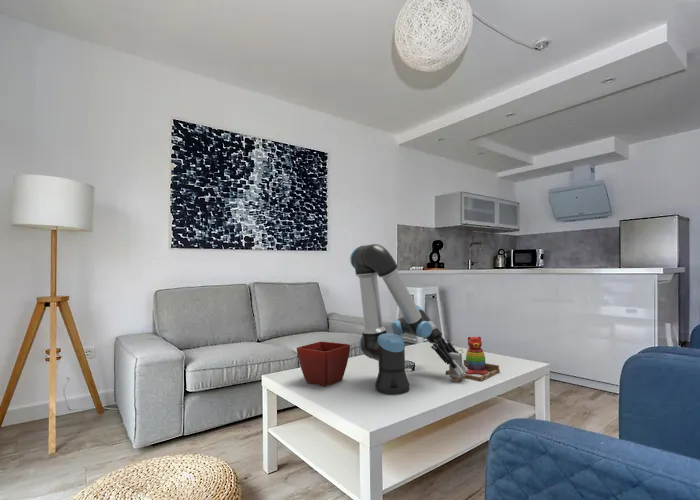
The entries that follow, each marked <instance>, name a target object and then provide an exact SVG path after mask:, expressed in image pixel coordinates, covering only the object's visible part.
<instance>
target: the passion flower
mask: <svg viewBox="0 0 700 500" xmlns="http://www.w3.org/2000/svg"><path fill="white" fill-rule="evenodd" d="M450 343H451V345H452V346H453V347H454V348H455V349H456V347H457V345H456V344H454V341H453V340H452V341H450ZM456 351H457V352H458V351H461V352H462V353H461V354H463V353H464V350H463V349H462V348H461V349H459V350H456ZM458 353H460V352H458Z"/></svg>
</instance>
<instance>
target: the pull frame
mask: <svg viewBox="0 0 700 500" xmlns="http://www.w3.org/2000/svg"><path fill="white" fill-rule="evenodd" d="M449 355H450V357H451V358H452V361H453V360H455V362H456V363H457V364H458V365H459V367H460V368H461V369H462V363H463V364H464V366H465V367H466V368H468V366H467V363H466V359H464V360H463V356H462V355H463V353H460V352H459V353H454V352H451V353H449ZM448 368H449V369H448V370H445V375H446V376H447V375H449V377H450V381H451V382H455V383H458V382H460V381H463V380H465V379H468V380H472V381H476V382H483V381H485V380H487V379H489V378H491V377H493V376H495V375H497V374H499V373H500V372H501V370H500V365H499V364H494V363H493V364H492V363H487V362H485V368H484V369H486V370H487V372H488V373H487V374H485V375H480V376H478V375H470V374H465V373H464V374H463V373H462V374H460V375H458V374H457V372H456V371H455V370H454V369H453V367H452V366H451V365H450V364H448Z"/></svg>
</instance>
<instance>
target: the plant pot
mask: <svg viewBox="0 0 700 500" xmlns="http://www.w3.org/2000/svg"><path fill="white" fill-rule="evenodd" d="M350 351H351V344H349V343H348V344H347V343H339V342H332V341H331V342H330V341H318V342H313V343H309V344H306V345H301V346H298V347H296V353H297V358H298V362H299V366H300V369H301V372H302V375H303V377H304V378H303V379H304V380H305V381H306V383H307V382H309V383H308V384H312V383H313V384H312V385H316V384H317V385H318V386H321V385H322V387H328V386H331V385H333V384H336V383H338V382H340V381H341V382H342V381H343V378H344V375H345V372H346V369H347V366H348V361H349V356H350Z"/></svg>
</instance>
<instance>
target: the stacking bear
mask: <svg viewBox="0 0 700 500" xmlns="http://www.w3.org/2000/svg"><path fill="white" fill-rule="evenodd" d="M467 345H468V349H467V350H466V352H465V354H466V355H465V360H466V363H467V366H468V368H467V367H466V368H467V369H468V370H467V371H466V372H465V373H464V374H467V375H472V376H474V375H480V376H483V375H485V374H487V373H489V371H487V370H486V369H484V368H485V363H486V356H485V352H484V349H483V348H482V345H483V342H482V337H481V336H472V337H471V336H469V337H467Z"/></svg>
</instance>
